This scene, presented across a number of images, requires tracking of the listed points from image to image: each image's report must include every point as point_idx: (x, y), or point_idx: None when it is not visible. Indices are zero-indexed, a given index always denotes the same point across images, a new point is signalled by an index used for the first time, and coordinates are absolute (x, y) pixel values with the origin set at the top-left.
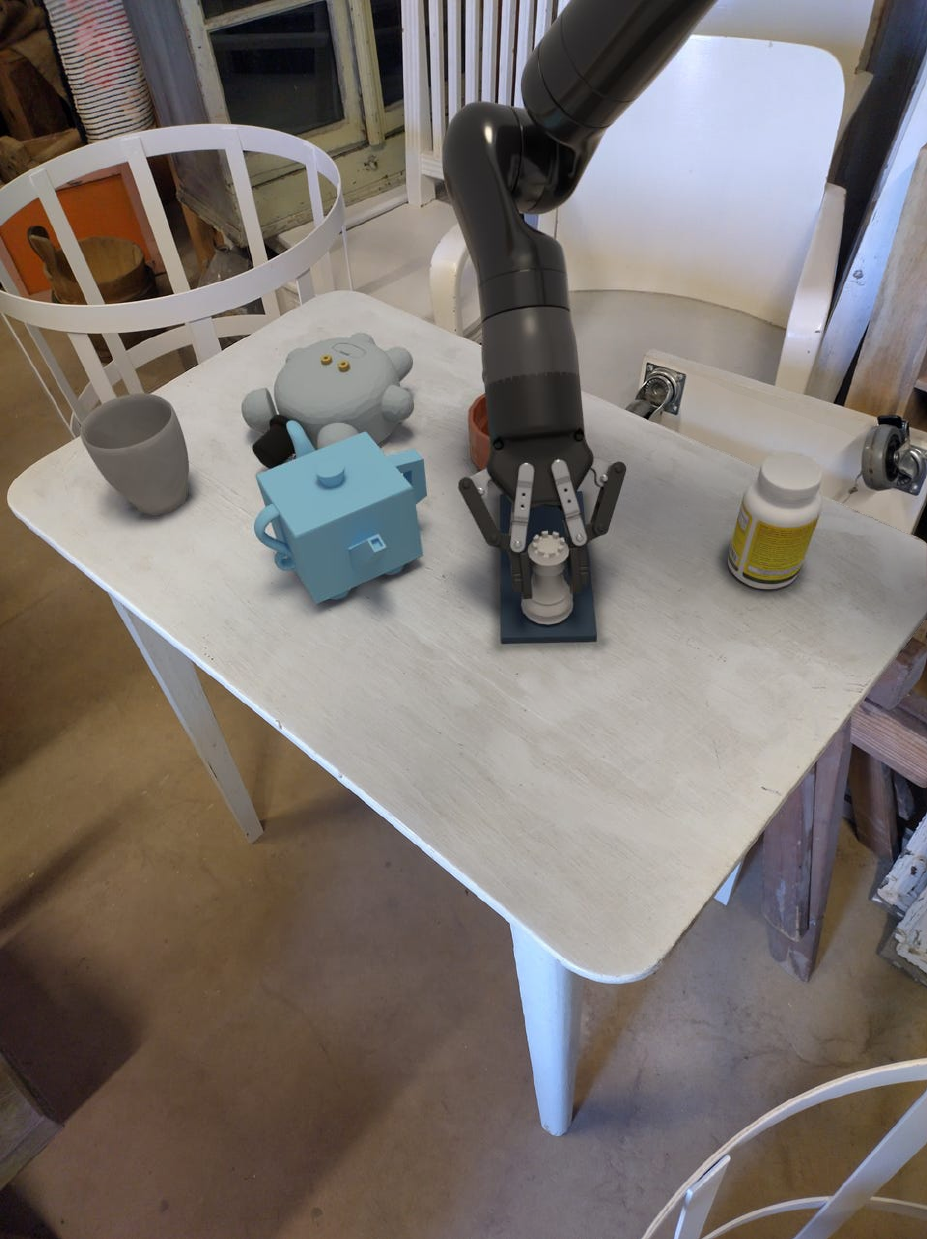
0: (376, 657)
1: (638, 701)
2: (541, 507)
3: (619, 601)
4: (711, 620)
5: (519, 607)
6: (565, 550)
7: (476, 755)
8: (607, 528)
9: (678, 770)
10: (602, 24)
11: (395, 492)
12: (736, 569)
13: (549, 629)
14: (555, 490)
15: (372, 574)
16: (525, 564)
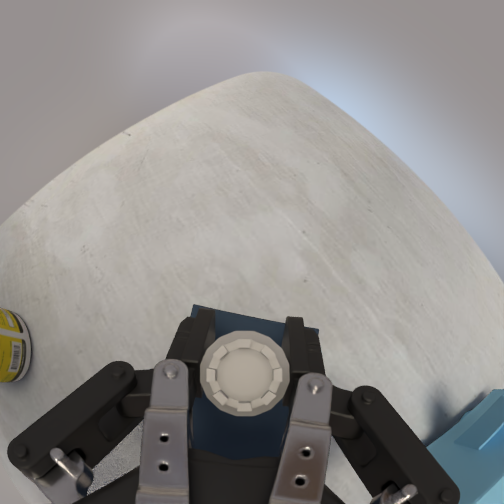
0: (444, 330)
1: (180, 217)
2: None
3: (147, 361)
4: (69, 298)
5: None
6: (209, 357)
7: (355, 196)
8: (106, 368)
9: (179, 151)
10: None
11: (488, 492)
12: (23, 341)
13: (252, 330)
14: (194, 483)
15: (452, 431)
16: (298, 355)
